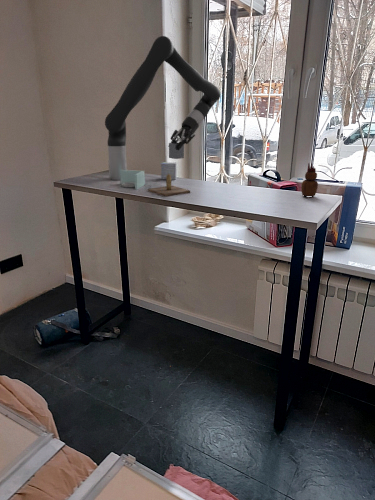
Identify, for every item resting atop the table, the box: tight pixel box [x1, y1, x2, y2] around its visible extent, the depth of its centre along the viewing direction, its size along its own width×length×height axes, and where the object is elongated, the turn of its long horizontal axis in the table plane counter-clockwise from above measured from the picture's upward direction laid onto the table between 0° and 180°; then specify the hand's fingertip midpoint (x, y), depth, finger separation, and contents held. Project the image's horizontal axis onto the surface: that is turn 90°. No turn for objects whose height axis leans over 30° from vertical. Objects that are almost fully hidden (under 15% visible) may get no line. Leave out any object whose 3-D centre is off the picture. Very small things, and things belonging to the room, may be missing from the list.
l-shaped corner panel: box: [120, 169, 146, 190], centre depth 180 cm, size 12×12×8 cm
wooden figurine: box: [300, 162, 319, 197], centre depth 163 cm, size 7×6×15 cm
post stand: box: [147, 174, 191, 197], centre depth 169 cm, size 14×14×8 cm
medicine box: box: [160, 161, 177, 181], centre depth 199 cm, size 8×4×9 cm, turn 84°
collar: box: [168, 141, 185, 160], centre depth 179 cm, size 5×5×7 cm
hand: (173, 148), depth 177 cm, fingers closed on collar, 5 cm apart
